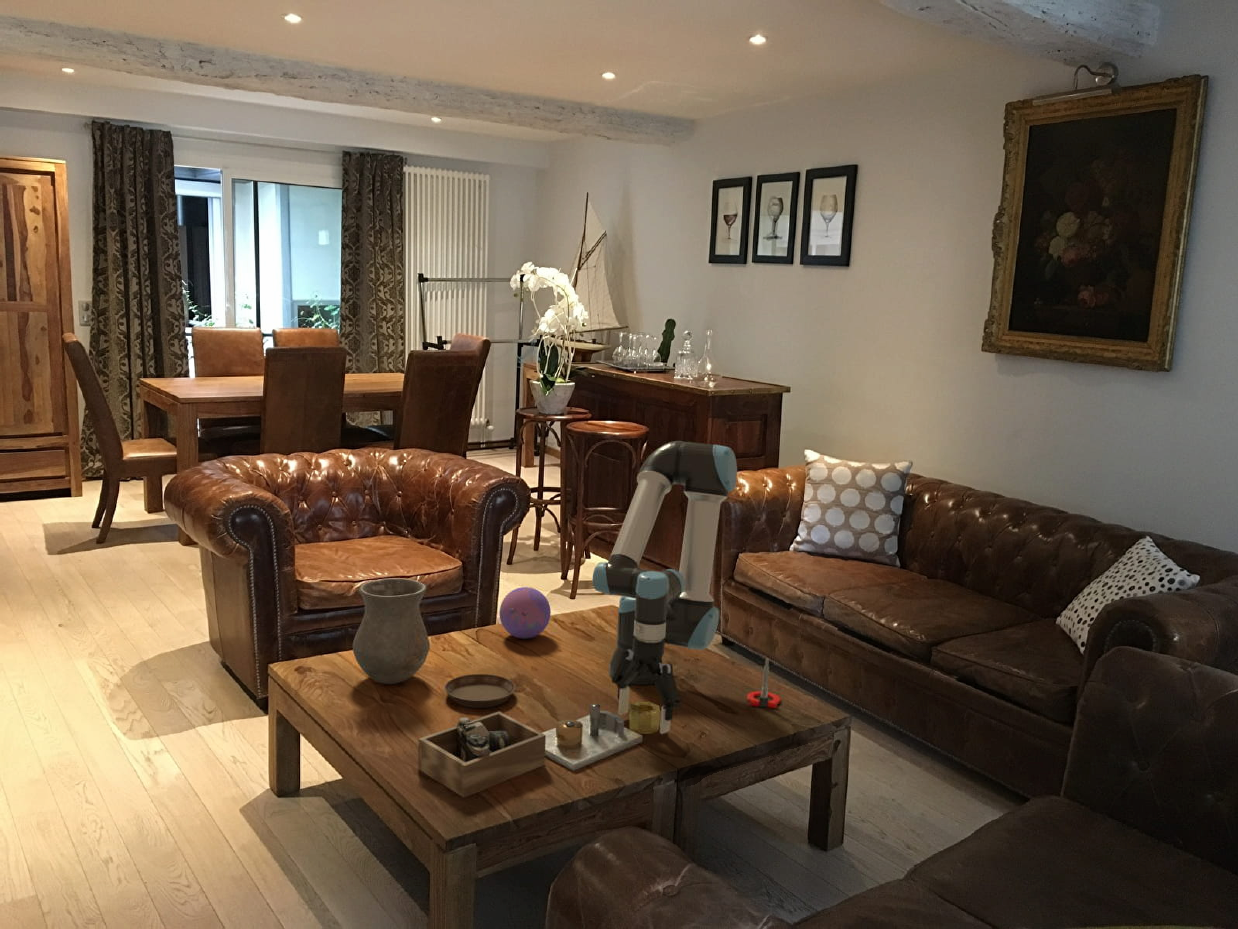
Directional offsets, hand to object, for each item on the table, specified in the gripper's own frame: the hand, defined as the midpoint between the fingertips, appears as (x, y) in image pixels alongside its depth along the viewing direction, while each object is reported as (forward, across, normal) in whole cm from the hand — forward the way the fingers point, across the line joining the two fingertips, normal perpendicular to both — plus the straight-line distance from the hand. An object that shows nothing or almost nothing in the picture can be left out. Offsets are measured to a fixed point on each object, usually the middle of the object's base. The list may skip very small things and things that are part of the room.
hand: (643, 722), depth 244 cm
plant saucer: (+2, -39, -19) cm, 43 cm away
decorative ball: (+1, -65, +18) cm, 68 cm away
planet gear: (+1, 0, 0) cm, 1 cm away
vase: (+2, -62, -30) cm, 69 cm away
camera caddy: (+2, -9, -42) cm, 43 cm away
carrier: (+2, -3, -17) cm, 17 cm away
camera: (+2, -8, -42) cm, 42 cm away
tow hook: (+1, +9, +36) cm, 37 cm away
